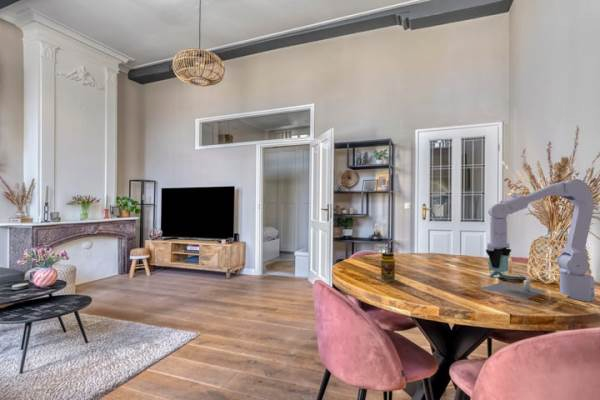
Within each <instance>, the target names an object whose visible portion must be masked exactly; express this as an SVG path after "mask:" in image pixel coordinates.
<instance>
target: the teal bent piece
mask: <svg viewBox="0 0 600 400" xmlns="http://www.w3.org/2000/svg"><path fill="white" fill-rule="evenodd" d="M488 265H489V262H488ZM498 275H500V276H501V277H502V279H504V280H508V278H507V277H506V276H505V275H504V274H503V272H497V271H492V273H491V274H489V276H488V277H489V278H494V277H495V276H498Z"/></svg>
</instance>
